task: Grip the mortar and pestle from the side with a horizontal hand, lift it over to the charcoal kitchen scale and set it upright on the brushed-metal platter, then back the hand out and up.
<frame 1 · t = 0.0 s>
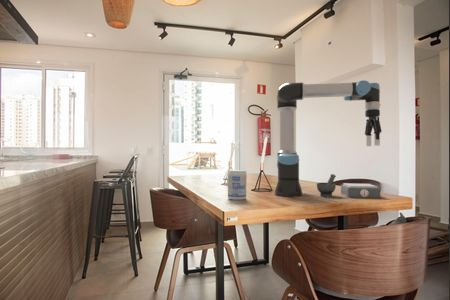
hand: (372, 145, 165), 28 cm above the table, tool pointing down, fingers open, 13 cm apart
kitchen scale: (359, 195, 157), on the table
supplement tub: (237, 199, 145), on the table
mortar and pestle: (327, 196, 156), on the table
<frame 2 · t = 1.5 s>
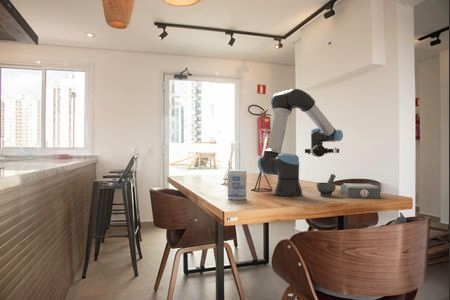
hand: (323, 150, 166), 25 cm above the table, tool horizontal, fingers open, 13 cm apart
nothing on the table moved.
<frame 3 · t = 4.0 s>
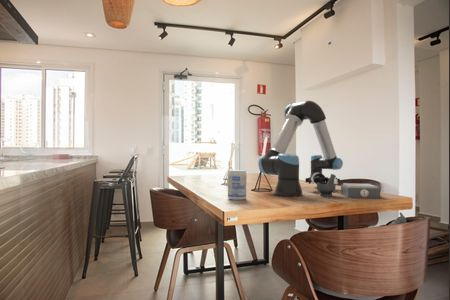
hand: (325, 181, 164), 7 cm above the table, tool horizontal, fingers open, 13 cm apart
nothing on the table moved.
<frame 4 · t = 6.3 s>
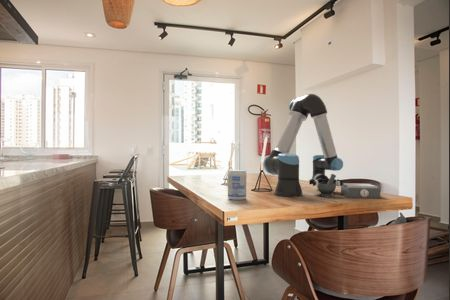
hand: (328, 183, 152), 7 cm above the table, tool horizontal, fingers open, 10 cm apart
mortar and pestle: (327, 196, 156), on the table, touching gripper
everything else where it was.
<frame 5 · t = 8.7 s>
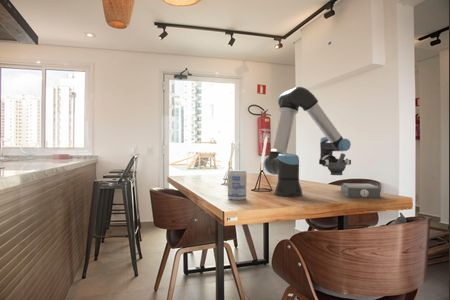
hand: (338, 162, 153), 19 cm above the table, tool horizontal, fingers closed on mortar and pestle, 10 cm apart
mortar and pestle: (337, 175, 157), point 11 cm above the table, touching gripper
everything else where it was.
when the fingers open (14 cm above the table, at t = 10.8 s): mortar and pestle drops 1 cm, resting on kitchen scale.
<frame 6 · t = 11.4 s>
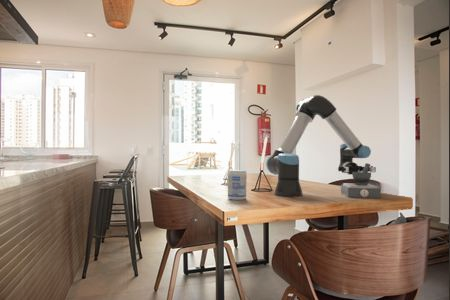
hand: (361, 169, 154), 14 cm above the table, tool horizontal, fingers open, 13 cm apart
mortar and pestle: (362, 184, 157), point 6 cm above the table, touching gripper, kitchen scale
everything else where it was.
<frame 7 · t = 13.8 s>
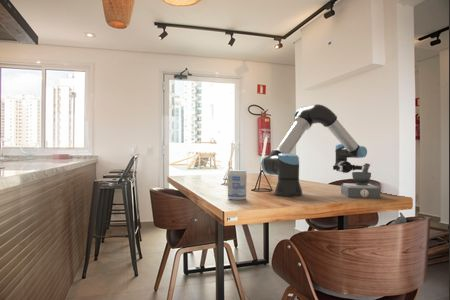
hand: (353, 168, 167), 15 cm above the table, tool horizontal, fingers open, 13 cm apart
mortar and pestle: (362, 185, 157), point 6 cm above the table, touching kitchen scale
everything else where it was.
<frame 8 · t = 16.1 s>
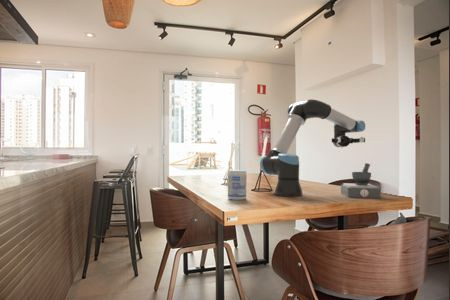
hand: (351, 139, 172), 32 cm above the table, tool horizontal, fingers open, 13 cm apart
nothing on the table moved.
at the end: mortar and pestle inside the target area on the kitchen scale (1.9 cm from its centre), point 5.8 cm above the kitchen scale's base; mortar and pestle tilted 0°; the gripper is holding nothing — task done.
